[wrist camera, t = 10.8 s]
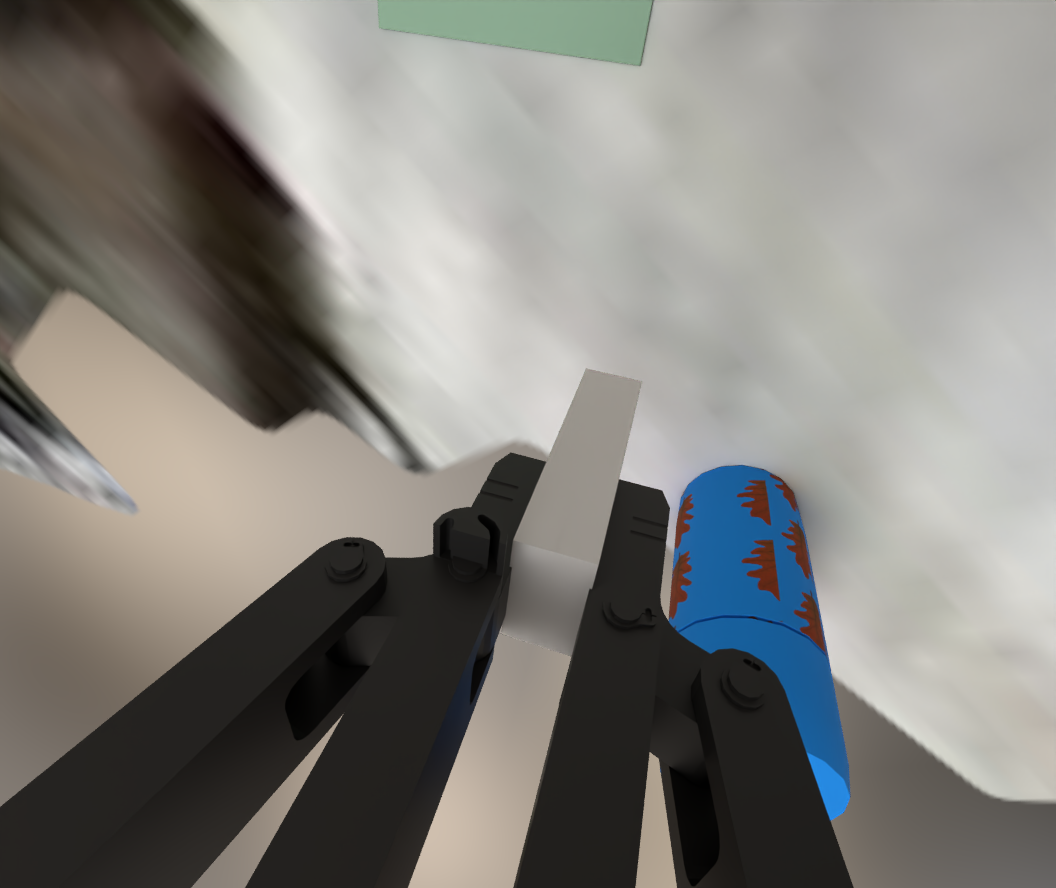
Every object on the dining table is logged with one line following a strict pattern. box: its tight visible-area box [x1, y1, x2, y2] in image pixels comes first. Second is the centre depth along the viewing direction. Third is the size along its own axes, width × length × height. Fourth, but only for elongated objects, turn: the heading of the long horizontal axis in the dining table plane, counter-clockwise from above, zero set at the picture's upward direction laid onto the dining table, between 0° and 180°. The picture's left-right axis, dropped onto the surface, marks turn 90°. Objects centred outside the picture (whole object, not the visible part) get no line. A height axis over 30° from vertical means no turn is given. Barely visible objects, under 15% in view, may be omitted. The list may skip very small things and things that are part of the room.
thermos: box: [660, 465, 850, 821], centre depth 43 cm, size 11×11×25 cm
